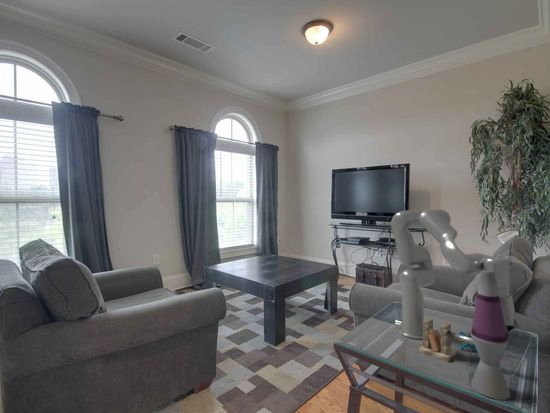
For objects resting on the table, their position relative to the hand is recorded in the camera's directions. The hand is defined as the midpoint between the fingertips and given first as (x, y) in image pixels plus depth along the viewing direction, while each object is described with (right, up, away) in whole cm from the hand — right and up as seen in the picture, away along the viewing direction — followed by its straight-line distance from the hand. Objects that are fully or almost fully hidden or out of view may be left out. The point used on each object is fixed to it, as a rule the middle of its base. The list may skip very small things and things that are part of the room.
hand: (497, 339), depth 107 cm
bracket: (-14, -13, +16) cm, 24 cm away
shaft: (-5, -5, +6) cm, 9 cm away
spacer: (-13, -11, +15) cm, 23 cm away
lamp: (-10, -13, -10) cm, 19 cm away
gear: (+1, -13, +17) cm, 21 cm away
